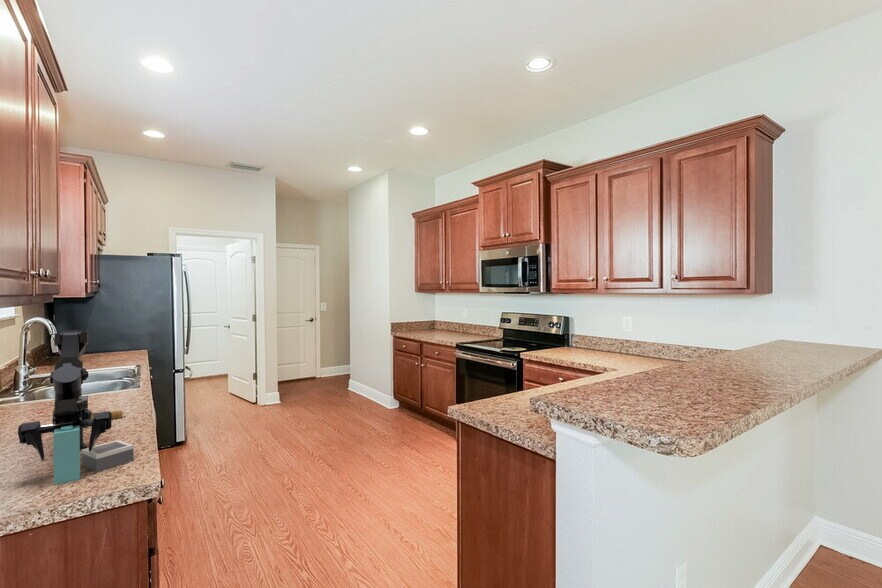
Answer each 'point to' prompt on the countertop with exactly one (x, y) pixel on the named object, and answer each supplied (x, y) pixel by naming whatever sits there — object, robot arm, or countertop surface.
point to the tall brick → (66, 454)
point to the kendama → (114, 414)
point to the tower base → (107, 455)
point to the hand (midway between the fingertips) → (66, 455)
